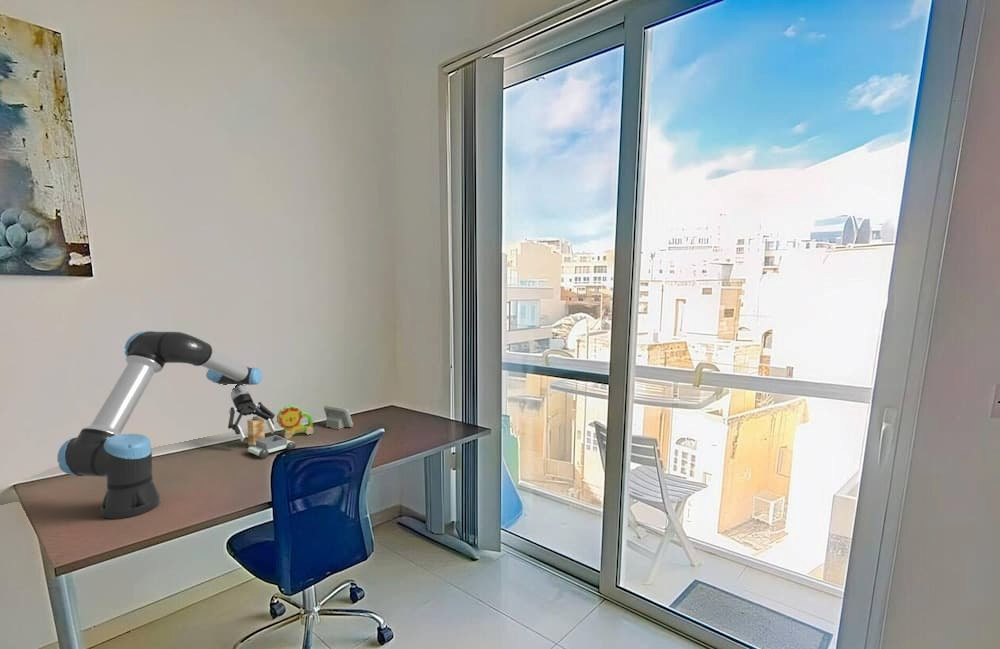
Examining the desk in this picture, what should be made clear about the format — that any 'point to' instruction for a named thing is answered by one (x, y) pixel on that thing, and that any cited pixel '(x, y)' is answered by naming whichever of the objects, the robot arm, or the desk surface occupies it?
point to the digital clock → (337, 417)
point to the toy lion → (293, 421)
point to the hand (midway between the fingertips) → (258, 435)
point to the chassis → (270, 445)
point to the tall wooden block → (255, 430)
